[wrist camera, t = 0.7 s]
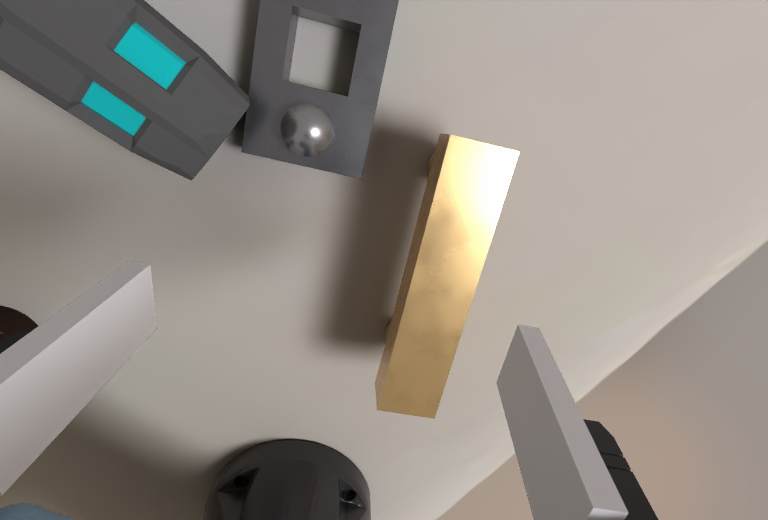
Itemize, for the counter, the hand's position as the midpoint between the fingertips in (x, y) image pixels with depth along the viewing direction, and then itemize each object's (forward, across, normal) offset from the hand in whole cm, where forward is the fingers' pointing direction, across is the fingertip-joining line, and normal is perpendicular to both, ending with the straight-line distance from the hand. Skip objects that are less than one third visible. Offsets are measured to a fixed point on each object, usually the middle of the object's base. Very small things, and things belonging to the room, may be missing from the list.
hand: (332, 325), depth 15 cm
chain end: (+18, +5, -7) cm, 20 cm away
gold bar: (+17, -5, +4) cm, 19 cm away
